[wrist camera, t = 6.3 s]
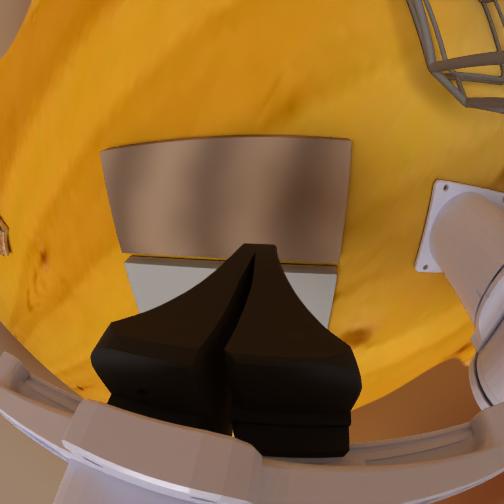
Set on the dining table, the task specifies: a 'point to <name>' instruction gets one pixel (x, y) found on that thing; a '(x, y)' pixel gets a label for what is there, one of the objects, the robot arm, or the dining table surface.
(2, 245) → the shard
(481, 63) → the geometric lantern
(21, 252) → the dining table surface
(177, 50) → the dining table surface
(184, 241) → the walnut board
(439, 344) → the dining table surface
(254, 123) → the dining table surface
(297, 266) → the grey plank
